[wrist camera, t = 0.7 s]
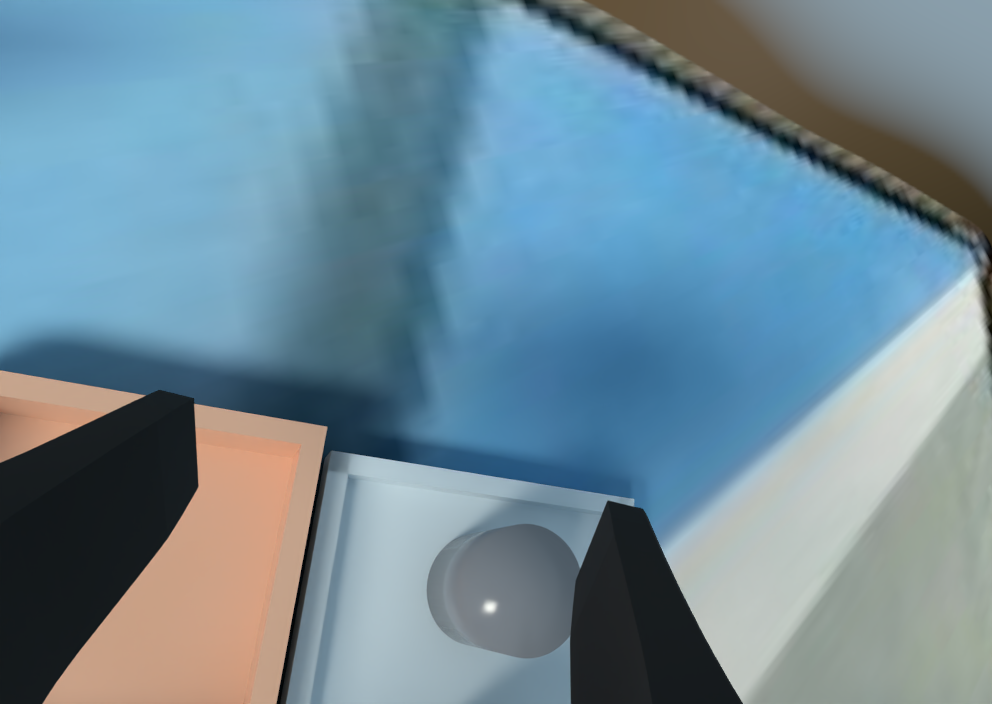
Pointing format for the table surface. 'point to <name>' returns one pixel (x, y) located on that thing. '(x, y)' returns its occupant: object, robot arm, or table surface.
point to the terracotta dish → (192, 556)
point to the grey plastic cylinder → (505, 590)
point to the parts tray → (415, 586)
